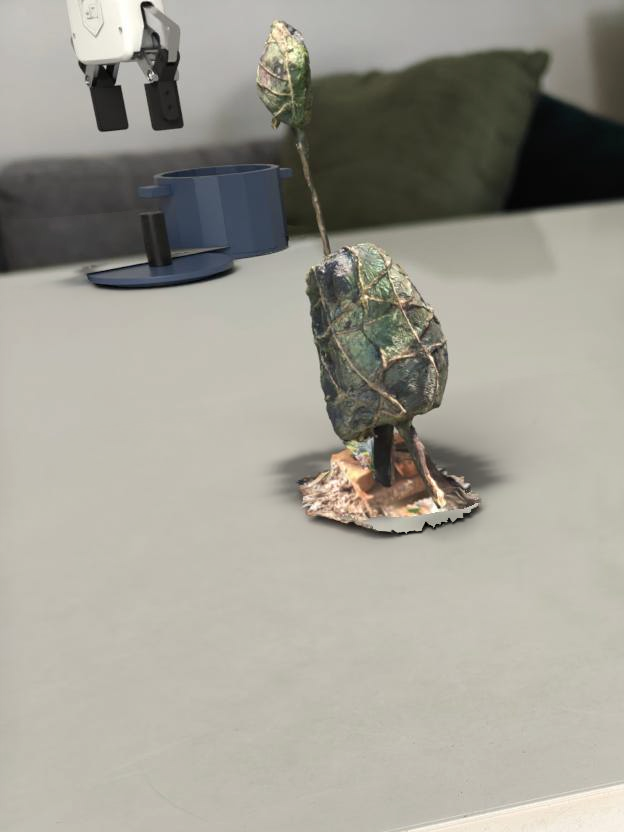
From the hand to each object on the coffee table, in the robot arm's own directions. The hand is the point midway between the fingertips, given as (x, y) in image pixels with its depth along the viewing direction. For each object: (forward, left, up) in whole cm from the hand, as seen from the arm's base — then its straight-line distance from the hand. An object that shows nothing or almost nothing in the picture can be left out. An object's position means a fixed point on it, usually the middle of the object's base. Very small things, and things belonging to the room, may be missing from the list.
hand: (140, 130), depth 109 cm
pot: (-8, +13, -14) cm, 21 cm away
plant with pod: (+69, -33, -14) cm, 78 cm away
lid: (0, -1, -13) cm, 13 cm away
